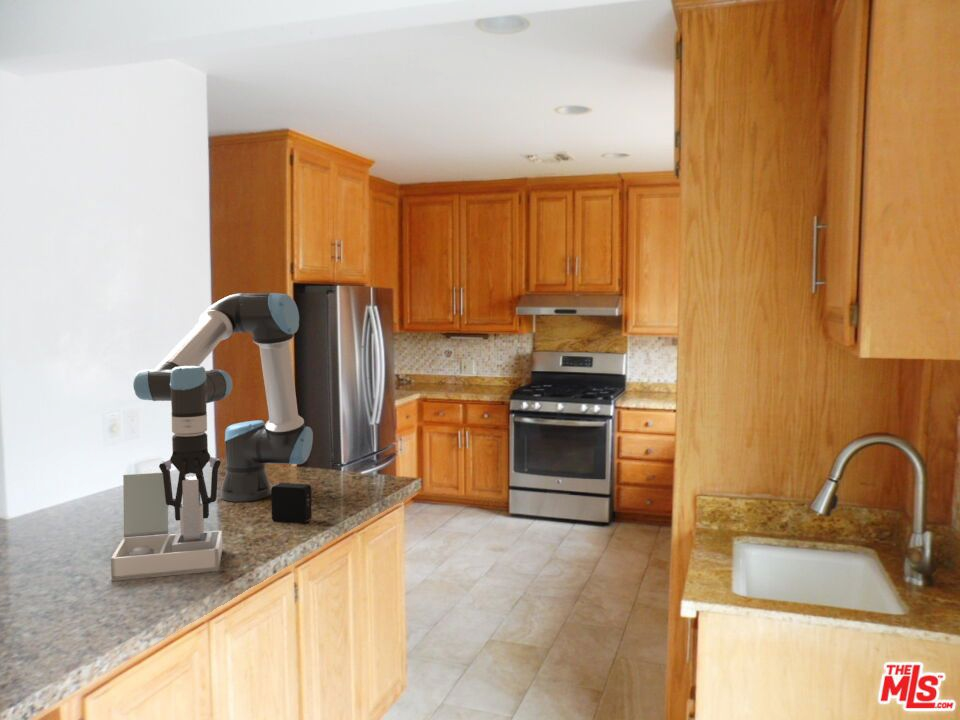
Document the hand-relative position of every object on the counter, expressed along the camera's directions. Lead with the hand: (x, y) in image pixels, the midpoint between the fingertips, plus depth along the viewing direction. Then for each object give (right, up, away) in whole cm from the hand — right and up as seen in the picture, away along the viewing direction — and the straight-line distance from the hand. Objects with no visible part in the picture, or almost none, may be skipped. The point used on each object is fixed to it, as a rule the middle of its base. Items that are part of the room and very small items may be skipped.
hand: (192, 532), depth 166 cm
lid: (-13, +6, +4) cm, 14 cm away
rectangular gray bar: (0, -3, 0) cm, 3 cm away
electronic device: (+14, -5, +33) cm, 36 cm away
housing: (-5, -7, -1) cm, 9 cm away
